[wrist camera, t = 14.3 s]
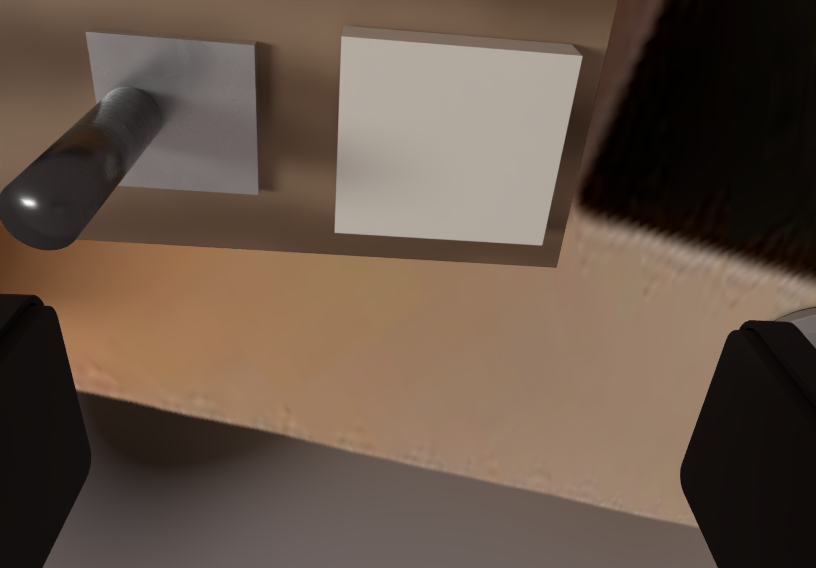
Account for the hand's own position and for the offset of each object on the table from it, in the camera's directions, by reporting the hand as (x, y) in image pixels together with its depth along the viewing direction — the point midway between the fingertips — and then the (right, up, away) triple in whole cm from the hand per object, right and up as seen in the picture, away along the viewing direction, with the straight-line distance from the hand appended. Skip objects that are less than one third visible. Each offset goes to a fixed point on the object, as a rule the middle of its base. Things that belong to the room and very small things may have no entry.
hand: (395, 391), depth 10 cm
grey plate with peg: (-10, +9, +22) cm, 26 cm away
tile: (-3, +8, +22) cm, 23 cm away
